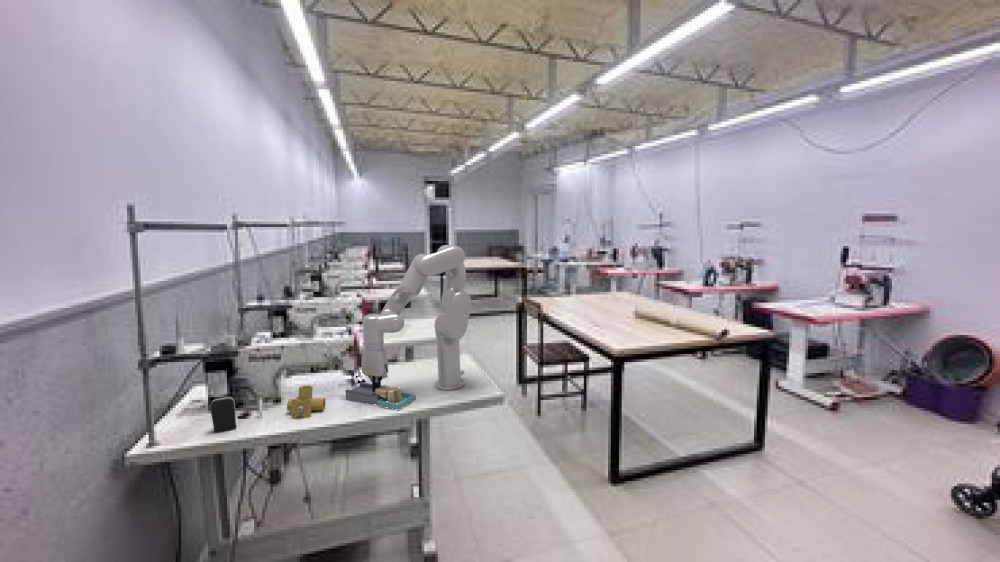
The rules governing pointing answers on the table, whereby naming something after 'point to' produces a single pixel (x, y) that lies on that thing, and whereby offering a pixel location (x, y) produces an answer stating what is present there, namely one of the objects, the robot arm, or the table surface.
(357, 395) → the rail plate
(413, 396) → the tray
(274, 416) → the table surface
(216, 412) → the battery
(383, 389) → the chip
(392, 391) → the chip
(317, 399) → the ball valve
